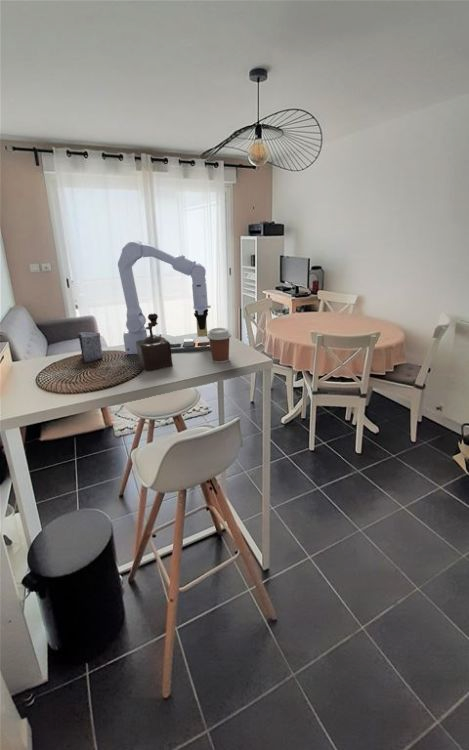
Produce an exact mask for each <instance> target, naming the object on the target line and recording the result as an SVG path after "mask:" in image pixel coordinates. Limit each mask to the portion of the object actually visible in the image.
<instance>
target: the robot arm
mask: <svg viewBox="0 0 469 750" xmlns="http://www.w3.org/2000/svg"><path fill="white" fill-rule="evenodd" d="M148 257H152V258H154V259H157V260H159V261H161V262H164V263H165V264H166V263H167V264H170V265H171V268H172V269H173V270H175V271H177V272H179V273H181V274H184V275H185V276H190V277H191V281H192V284H191V289H192V300H193V309H194V312H193V315H194V317H195V319H196V320H197V321H196V323H197V322H198V325H199V329H200V330H205V325H206V321H207V318H208V315H209V313H208V312H209V309H211V306H212V305H209V303H208V291H207V280H206V275H207V274H206V271H207V270H206V268H205V266H203V265H202V264H201V263H197V261H195V260H190V259H188V258H186V256H185V255H183V254H182V255H180V254H179V255H175V256H173V255H172V254H169V253H167V252H166V251H163V250H161V249H160V248H158V247H155V246H153V245H151V244H149V243H145V242H142V241H140V240H134V241H130V242H127V243H126V244H125V246H123V248H122V249H121V253H120V257H119V258H118V261H117V268H118V273H119V278H120V281H121V287H122V292H123V297H124V301H125V307H126V323H125V326H126V327H125V328H127V330H126V331H124V332H123V344H124V345H123V346H124V349H125V355H138V353H137V347H136V341H140V340H144V339H145V338H147V337H148V333H147V329H146V327H145V324H146V322H147V319H146V317H145V315H144V313H143V310H142V308H141V307H140V302H139V297H138V293H137V287H136V283H135V276H134V272H133V266H134V265H135V264H136V263H137V261H138V260H140V259H142V258H148Z"/></svg>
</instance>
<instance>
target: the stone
mask: <svg viewBox="0 0 469 750" xmlns="http://www.w3.org/2000/svg"><path fill="white" fill-rule="evenodd" d="M77 335H78V340H79V345H80V351H81V358H82V359H81V360H82V362H83V363H90V362H93V361H97V360H99V359H103V358H104V356H105V354H104V352H103V349H102V343H101V333H100V332H91V331H89V332H86V331H80V332H78V333H77Z"/></svg>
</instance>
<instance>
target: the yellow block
mask: <svg viewBox="0 0 469 750" xmlns="http://www.w3.org/2000/svg"><path fill="white" fill-rule="evenodd" d="M195 321H196V331H197V332H196V334H197V338H199V337H207V335H208V325H207V323H208V322H207V320H206V325H205V330H200V329H199V325H198V322H197V319H196V320H195Z"/></svg>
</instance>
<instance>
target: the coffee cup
mask: <svg viewBox="0 0 469 750" xmlns="http://www.w3.org/2000/svg"><path fill="white" fill-rule="evenodd" d="M206 337H207V339H208V341H210V348H211V350H210V353H211V360H212V362H213V363H215V364H224V363H227V362H229V361H230V360H229V359H230V357H229V356H230V339H231V337H232V333H231V332H230V331H229V329H228V328H226V327H216V328H215V327H214V328H211V329H210V330H209V332H208V333H207V336H206Z"/></svg>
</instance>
